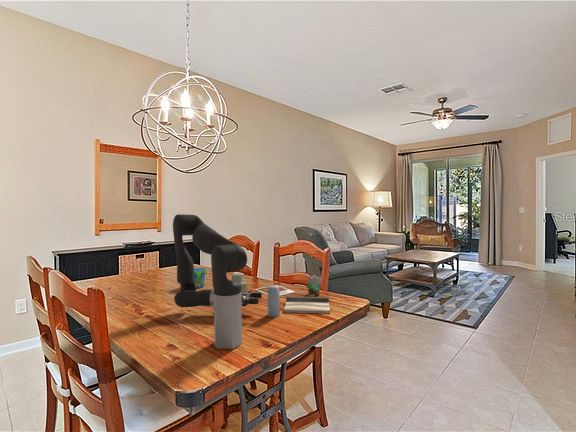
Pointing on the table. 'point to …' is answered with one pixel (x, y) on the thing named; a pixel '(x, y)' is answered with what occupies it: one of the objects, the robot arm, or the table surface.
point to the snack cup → (199, 277)
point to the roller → (273, 301)
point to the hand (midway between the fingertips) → (260, 298)
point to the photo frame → (280, 291)
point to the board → (307, 305)
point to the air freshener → (239, 280)
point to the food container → (314, 285)
